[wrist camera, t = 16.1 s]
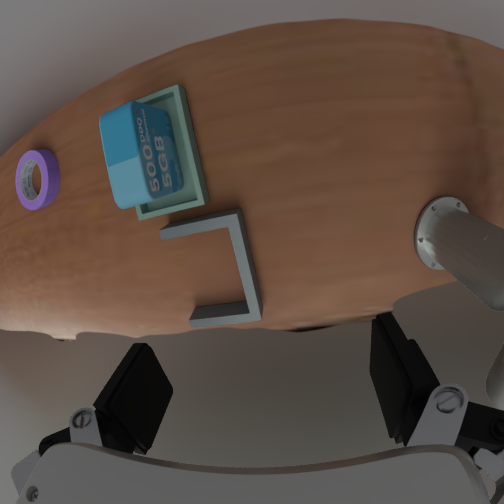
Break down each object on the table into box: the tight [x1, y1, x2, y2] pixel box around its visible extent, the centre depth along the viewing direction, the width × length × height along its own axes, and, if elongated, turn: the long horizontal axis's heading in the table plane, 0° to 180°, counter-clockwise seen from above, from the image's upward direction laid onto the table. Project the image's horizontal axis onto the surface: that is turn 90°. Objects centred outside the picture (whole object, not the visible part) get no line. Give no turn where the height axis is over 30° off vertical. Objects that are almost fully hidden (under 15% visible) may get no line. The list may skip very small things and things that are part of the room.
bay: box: [159, 208, 263, 328], centre depth 41 cm, size 12×16×4 cm
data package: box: [99, 101, 183, 209], centre depth 31 cm, size 12×4×12 cm, turn 11°
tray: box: [135, 84, 210, 221], centre depth 36 cm, size 11×18×3 cm, turn 12°
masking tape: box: [16, 149, 60, 210], centre depth 38 cm, size 12×12×4 cm
